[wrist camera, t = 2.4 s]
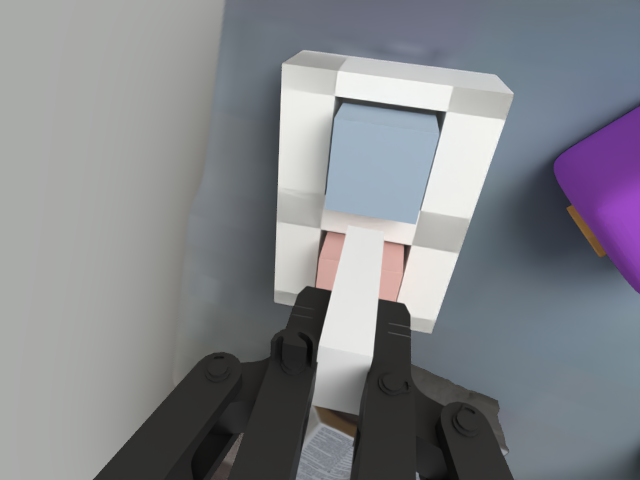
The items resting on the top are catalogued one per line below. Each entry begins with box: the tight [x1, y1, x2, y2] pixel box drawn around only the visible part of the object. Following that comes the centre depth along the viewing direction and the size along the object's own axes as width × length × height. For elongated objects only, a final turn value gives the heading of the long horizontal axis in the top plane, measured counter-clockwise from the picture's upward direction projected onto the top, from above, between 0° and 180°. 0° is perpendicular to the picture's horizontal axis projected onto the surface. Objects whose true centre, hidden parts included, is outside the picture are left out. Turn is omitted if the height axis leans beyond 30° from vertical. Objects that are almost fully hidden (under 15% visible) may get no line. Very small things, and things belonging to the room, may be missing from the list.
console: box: [274, 50, 514, 333], centre depth 32 cm, size 20×14×6 cm
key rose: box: [316, 231, 404, 302], centre depth 31 cm, size 6×6×4 cm
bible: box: [296, 364, 509, 480], centre depth 47 cm, size 23×27×10 cm
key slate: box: [325, 102, 440, 225], centre depth 26 cm, size 6×6×4 cm
